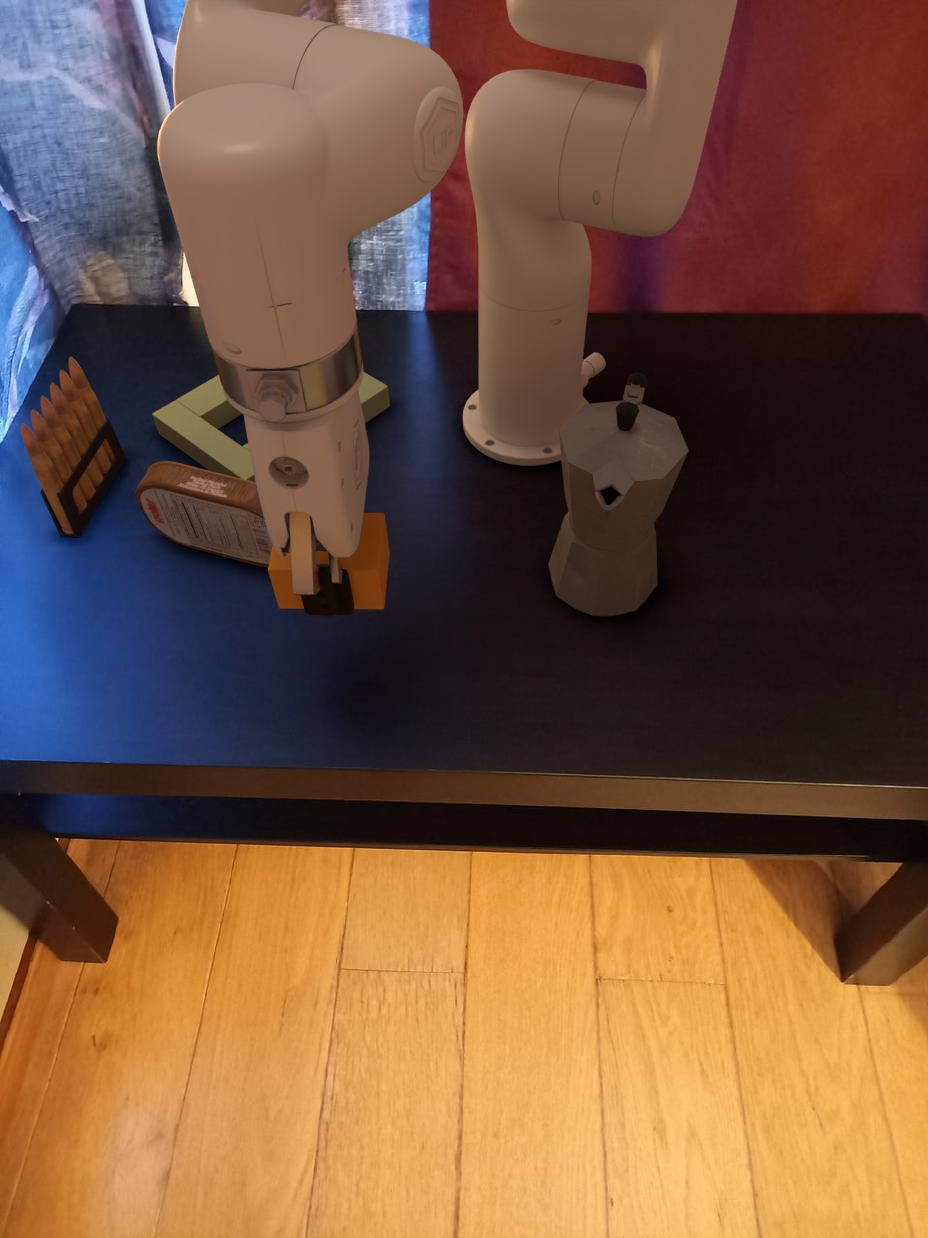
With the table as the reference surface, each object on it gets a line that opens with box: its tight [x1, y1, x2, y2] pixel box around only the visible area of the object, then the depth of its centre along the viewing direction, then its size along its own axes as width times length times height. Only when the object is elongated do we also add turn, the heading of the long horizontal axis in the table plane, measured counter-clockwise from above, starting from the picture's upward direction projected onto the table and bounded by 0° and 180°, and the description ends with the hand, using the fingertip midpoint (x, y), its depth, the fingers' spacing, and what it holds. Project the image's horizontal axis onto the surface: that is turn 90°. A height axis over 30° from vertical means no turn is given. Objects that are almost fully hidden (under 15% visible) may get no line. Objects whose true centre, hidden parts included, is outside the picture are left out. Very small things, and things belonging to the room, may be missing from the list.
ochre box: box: [267, 512, 391, 610], centre depth 62 cm, size 7×5×4 cm
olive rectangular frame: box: [151, 371, 391, 482], centre depth 92 cm, size 18×14×2 cm
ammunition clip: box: [20, 356, 127, 538], centre depth 82 cm, size 11×2×12 cm, turn 170°
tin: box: [134, 460, 273, 568], centre depth 79 cm, size 15×3×8 cm, turn 71°
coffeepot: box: [547, 372, 689, 617], centre depth 73 cm, size 15×9×18 cm, turn 165°
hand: (334, 575), depth 63 cm, fingers closed on ochre box, 5 cm apart
